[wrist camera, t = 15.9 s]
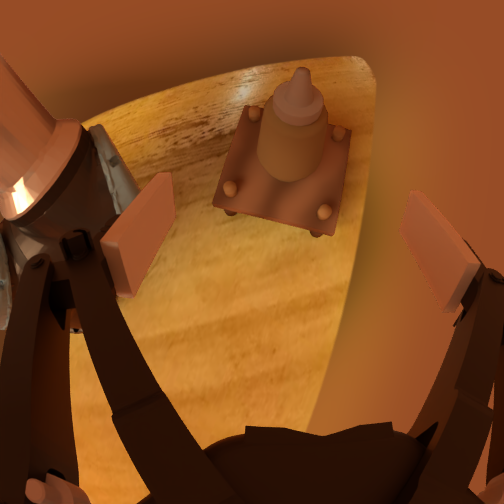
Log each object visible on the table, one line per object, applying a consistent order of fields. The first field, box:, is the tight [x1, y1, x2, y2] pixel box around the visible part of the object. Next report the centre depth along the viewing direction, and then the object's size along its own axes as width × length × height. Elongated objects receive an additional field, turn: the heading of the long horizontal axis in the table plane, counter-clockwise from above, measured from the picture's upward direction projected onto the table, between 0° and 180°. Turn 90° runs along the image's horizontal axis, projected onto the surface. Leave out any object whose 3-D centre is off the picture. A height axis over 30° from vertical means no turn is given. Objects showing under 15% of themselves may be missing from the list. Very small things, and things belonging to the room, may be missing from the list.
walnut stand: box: [212, 105, 352, 238], centre depth 41 cm, size 16×16×8 cm
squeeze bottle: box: [257, 67, 328, 182], centre depth 29 cm, size 8×8×18 cm
